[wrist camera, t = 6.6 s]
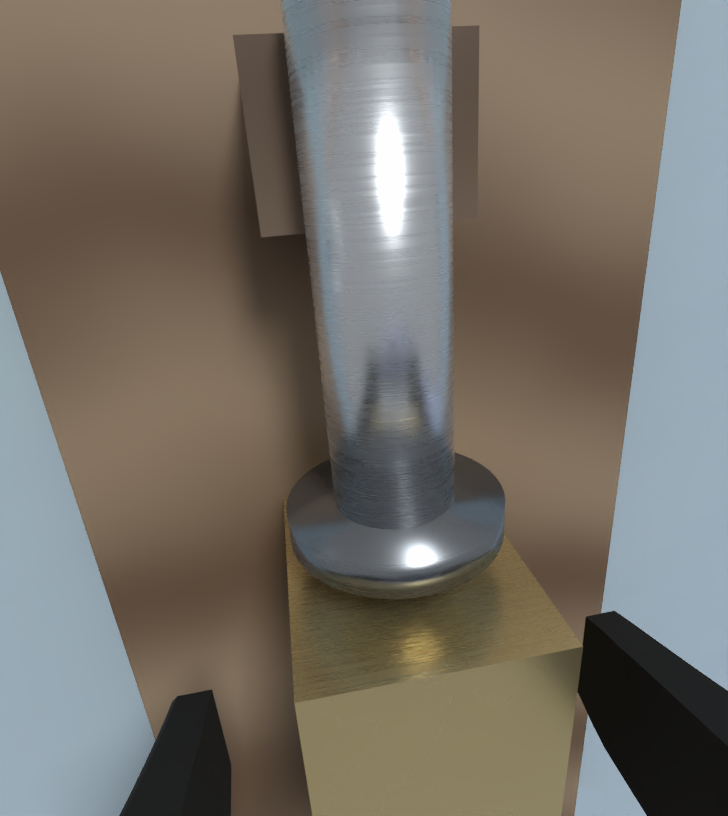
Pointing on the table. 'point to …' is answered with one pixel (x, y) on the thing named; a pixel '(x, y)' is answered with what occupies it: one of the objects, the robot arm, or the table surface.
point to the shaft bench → (311, 311)
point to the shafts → (383, 303)
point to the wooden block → (434, 696)
